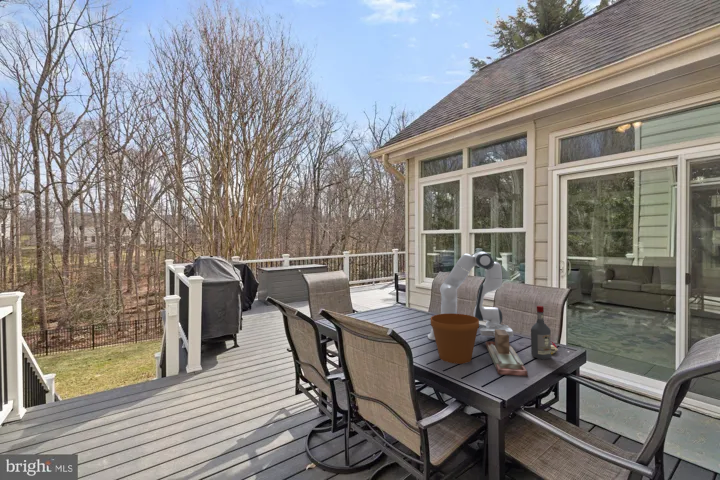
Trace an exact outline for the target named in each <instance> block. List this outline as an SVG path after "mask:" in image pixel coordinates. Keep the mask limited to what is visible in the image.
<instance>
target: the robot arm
mask: <svg viewBox="0 0 720 480" xmlns="http://www.w3.org/2000/svg"><path fill="white" fill-rule="evenodd" d="M476 266H477V267H479V268H481V269H484V271H485V280H484V282H483V283H481V284H480V286H479V289H478V293H477V298H476V302H475V307H474V310H473V316H474V317H476V318H478V319H479V322H481V321H482V322H485V327H481V328H478V330H479V332H480V336H483V337H484V336H487V337H490V336H491V337H494V338H495V329H501V330H506V332H507V333H508V335H509V338H512V337H514V330H513V329H512V328H511V327H509V325H507V324H502V323H503V313H502V310H501V309H500V308H499V307H494V306H483V304H484V298H485V296H486V295H487V294H488V293H491V292H494V291H497V290H498V289H500V288H501V287H502V285H503V271H502V266H501V264H500V262H498V261H494V259H493V257H492V256H491V254H489V253H487V252H485V251H477V252H474V253H473V254H469V253H464V254H462V255H461V257H460V258H459V259H458V260H457V261H456V263H455V265H454V266H453V268H452V269H451V271H450V273H449V274H448V276H447V277H446V278H445V280H443V282H442V284H441V285H440V287H439V292H440V294H441V296H440V297H441V300H440V301H441V302H440V303H441V304H440V314H458V313H457V312H458V310H457V309H458V290H459V287H461V285H462V284H463V283H464V282H465V281H466V279H467V277H468V275H469V274H470V272H471V271H472V269H473V268H474V267H476ZM427 339H429V340H433V341H436V340H435V336H434V332H433V328H432V327H431V330H430V333H428V334H427Z"/></svg>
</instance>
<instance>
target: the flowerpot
mask: <svg viewBox="0 0 720 480" xmlns="http://www.w3.org/2000/svg"><path fill="white" fill-rule="evenodd" d="M430 326H431V329H432V328H433V332H434V336H435V340H434V341H435V344H436V348H437V352H438V356H439V359H440V360H441V361H444V362H446V363H450V364H455V365H456V364H457V365H458V364H459V365H460V364H466V363H470V362H471V361H472V359H473V352H474V350H475V349H474V348H475V344H476V338H477V333H478V330H479V329H480V321H479V319H478V318H476V317H474V315H470V314H462V313H457V314H441V313H439V314H435V315H432V316H430Z"/></svg>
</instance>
